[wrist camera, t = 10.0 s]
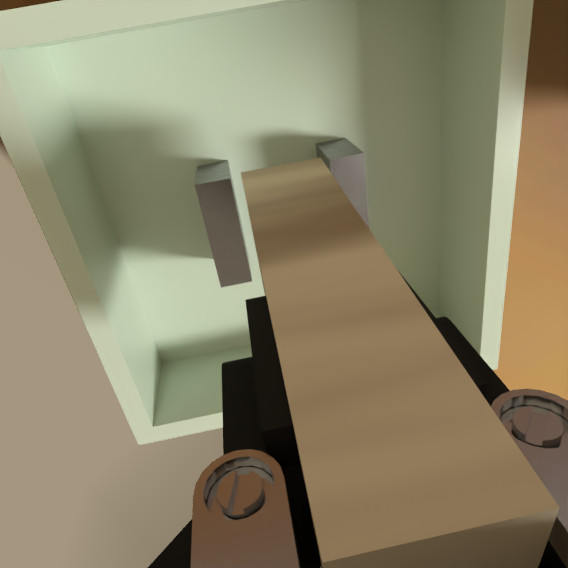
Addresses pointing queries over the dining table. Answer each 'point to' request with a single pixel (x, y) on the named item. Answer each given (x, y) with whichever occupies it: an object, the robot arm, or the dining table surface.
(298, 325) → the upright wooden plank
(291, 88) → the pale green prong tray
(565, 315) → the dining table surface
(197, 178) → the wick clip
